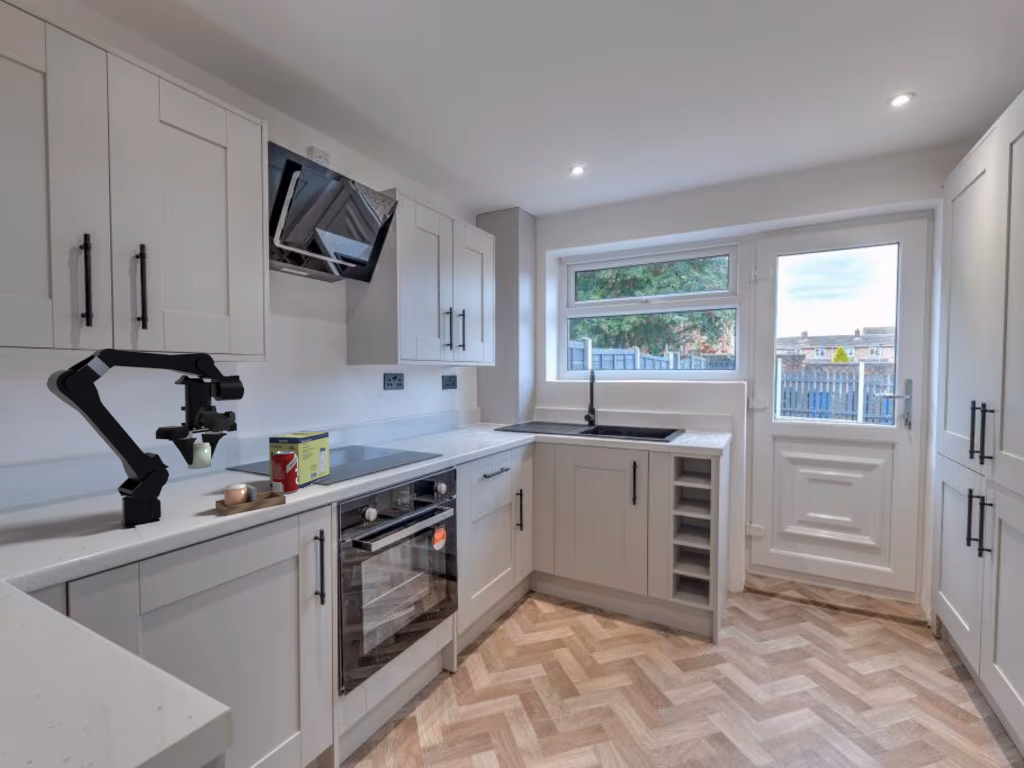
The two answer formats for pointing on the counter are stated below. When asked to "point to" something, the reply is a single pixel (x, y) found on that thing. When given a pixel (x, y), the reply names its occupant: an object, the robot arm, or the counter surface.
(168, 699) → the counter surface
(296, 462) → the soda can
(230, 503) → the terracotta jar
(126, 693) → the counter surface
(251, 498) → the bar
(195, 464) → the sage jar
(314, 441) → the protein box
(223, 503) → the wooden tray
